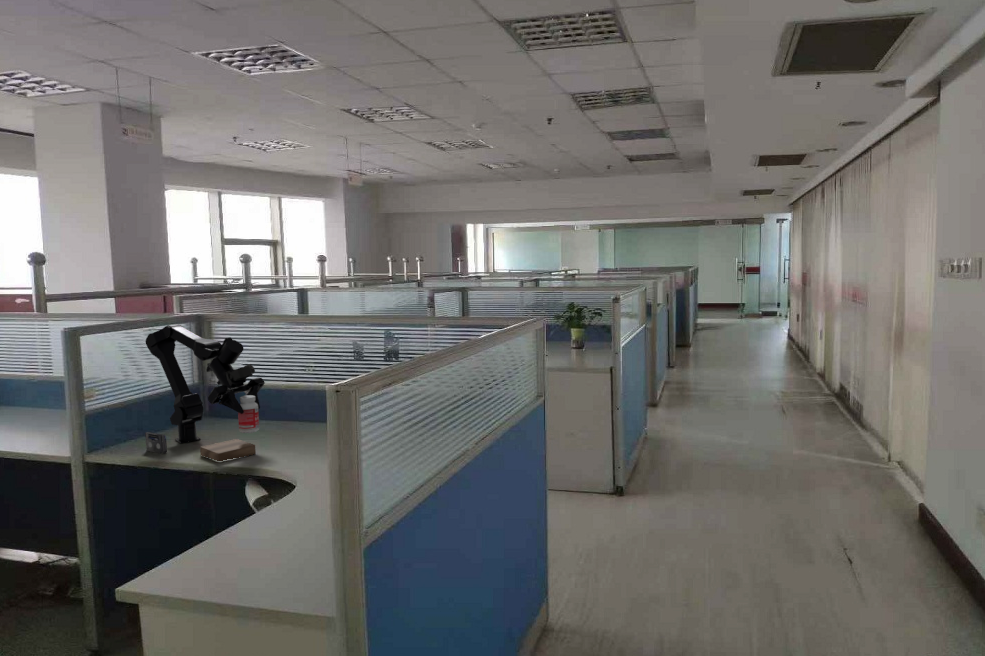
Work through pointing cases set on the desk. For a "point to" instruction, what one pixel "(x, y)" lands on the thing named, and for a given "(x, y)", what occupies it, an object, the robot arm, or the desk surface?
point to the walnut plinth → (228, 450)
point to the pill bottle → (248, 415)
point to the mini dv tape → (156, 442)
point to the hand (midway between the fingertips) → (251, 410)
